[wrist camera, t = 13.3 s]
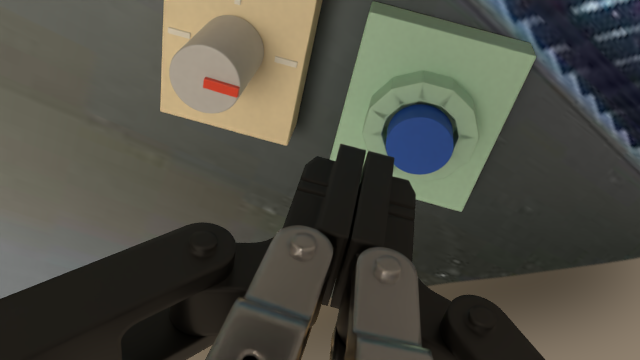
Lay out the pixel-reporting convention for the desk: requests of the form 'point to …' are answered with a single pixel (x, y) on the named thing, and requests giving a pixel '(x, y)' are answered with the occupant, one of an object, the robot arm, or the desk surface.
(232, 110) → the panel
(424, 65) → the green push-button base
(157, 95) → the desk surface
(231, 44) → the dial
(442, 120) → the button
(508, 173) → the desk surface
